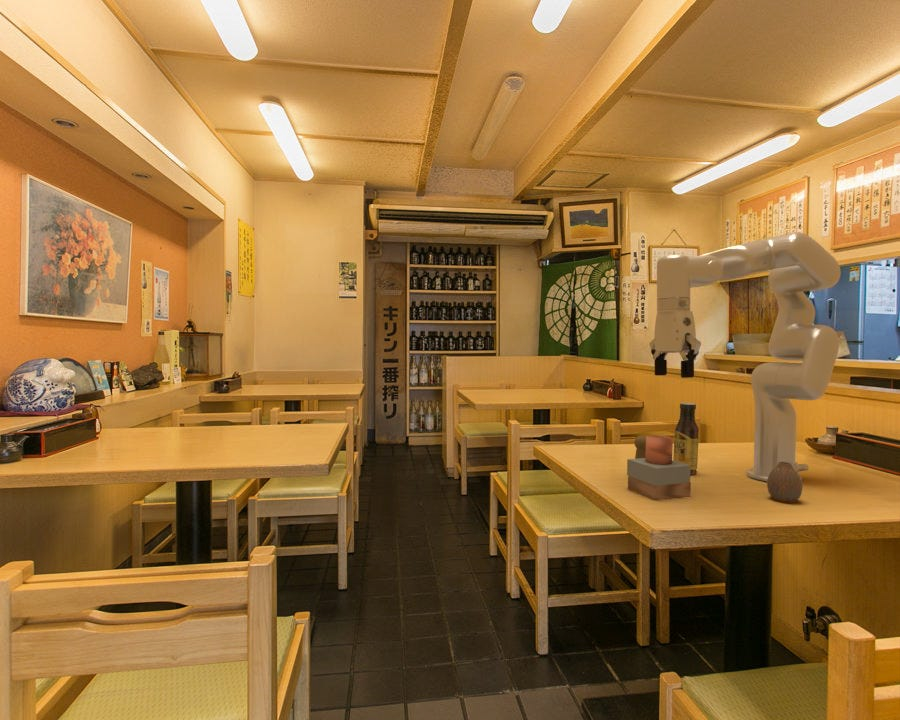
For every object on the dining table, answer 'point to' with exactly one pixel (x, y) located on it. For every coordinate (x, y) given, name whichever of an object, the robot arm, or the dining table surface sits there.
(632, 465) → the tower top block
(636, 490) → the tower bottom block
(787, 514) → the dining table surface
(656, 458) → the reddish pink cylinder
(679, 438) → the sauce bottle
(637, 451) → the cork
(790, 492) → the brown egg-shaped piece
